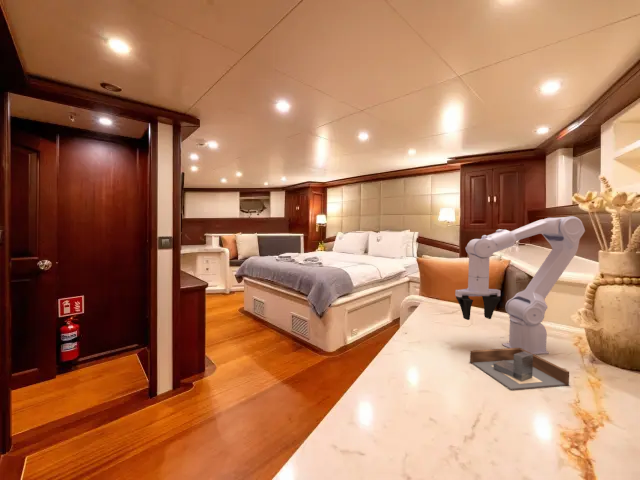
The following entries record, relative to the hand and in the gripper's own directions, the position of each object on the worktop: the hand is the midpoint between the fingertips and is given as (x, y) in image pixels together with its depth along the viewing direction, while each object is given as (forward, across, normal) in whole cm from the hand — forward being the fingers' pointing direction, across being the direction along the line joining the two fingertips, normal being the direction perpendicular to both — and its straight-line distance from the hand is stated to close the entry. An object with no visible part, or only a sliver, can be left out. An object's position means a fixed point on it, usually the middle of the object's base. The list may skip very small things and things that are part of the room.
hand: (477, 318), depth 89 cm
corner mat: (+9, +1, +16) cm, 19 cm away
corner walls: (+9, +1, +16) cm, 19 cm away
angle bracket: (+9, +3, +17) cm, 19 cm away
